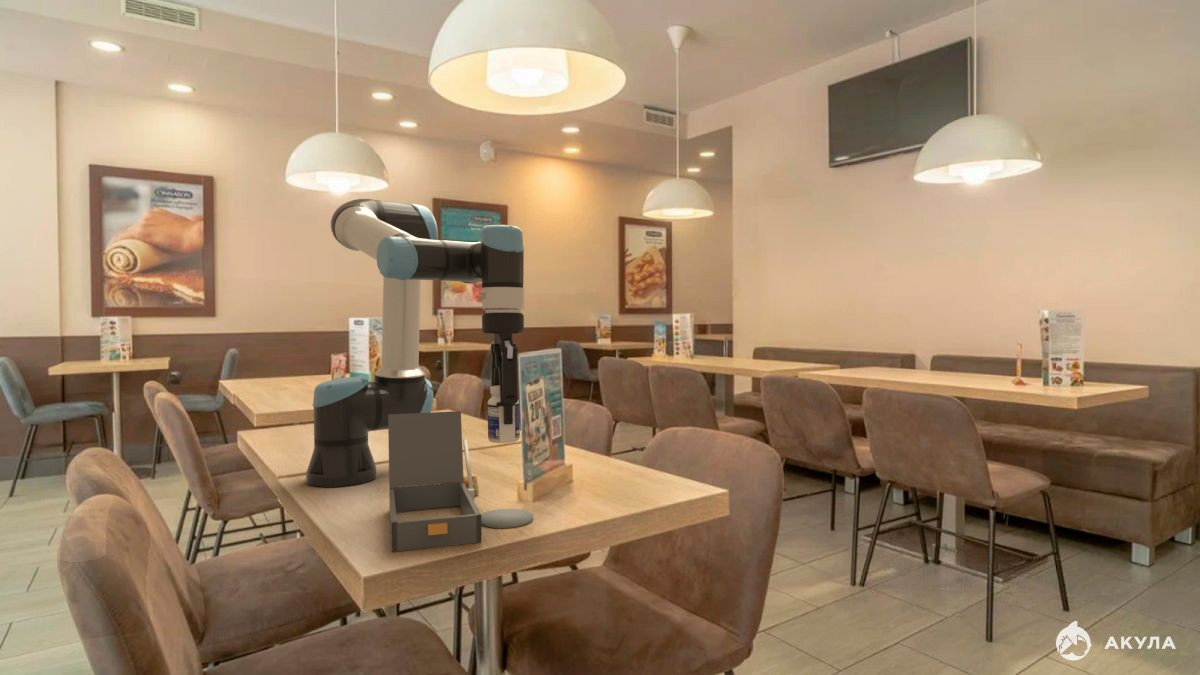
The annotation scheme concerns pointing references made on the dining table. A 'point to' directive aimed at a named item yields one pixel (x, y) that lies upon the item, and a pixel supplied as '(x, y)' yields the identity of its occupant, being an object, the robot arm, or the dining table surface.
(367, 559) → the dining table surface
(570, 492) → the dining table surface
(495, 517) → the pad
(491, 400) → the pill bottle
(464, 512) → the case
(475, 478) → the pastry
